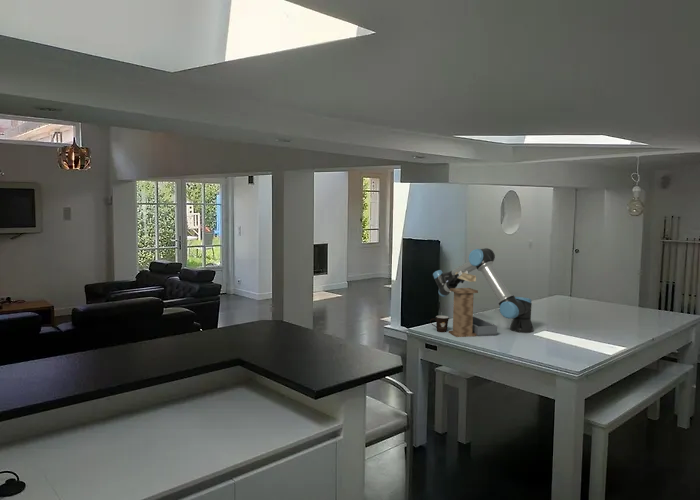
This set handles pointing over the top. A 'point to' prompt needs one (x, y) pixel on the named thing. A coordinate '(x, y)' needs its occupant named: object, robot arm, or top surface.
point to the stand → (463, 312)
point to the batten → (467, 277)
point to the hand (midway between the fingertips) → (464, 272)
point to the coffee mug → (441, 323)
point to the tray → (483, 327)
